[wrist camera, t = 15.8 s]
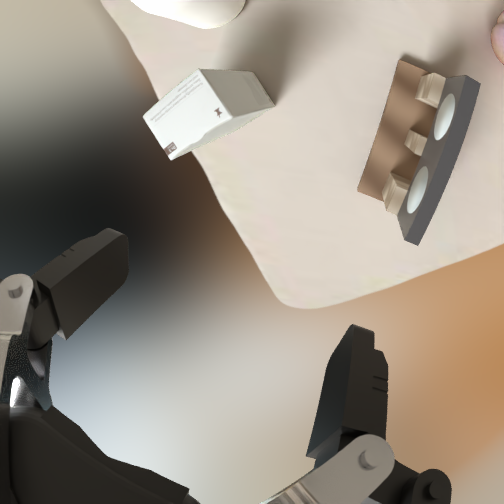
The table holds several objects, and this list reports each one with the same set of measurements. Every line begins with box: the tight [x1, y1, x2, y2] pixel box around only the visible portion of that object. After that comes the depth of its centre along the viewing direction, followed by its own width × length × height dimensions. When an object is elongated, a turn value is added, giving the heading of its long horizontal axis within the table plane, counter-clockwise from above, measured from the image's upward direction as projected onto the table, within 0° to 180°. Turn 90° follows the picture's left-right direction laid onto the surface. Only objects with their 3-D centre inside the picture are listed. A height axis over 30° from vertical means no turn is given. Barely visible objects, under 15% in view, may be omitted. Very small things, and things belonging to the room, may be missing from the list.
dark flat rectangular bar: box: [397, 75, 480, 246], centre depth 23 cm, size 16×2×6 cm, turn 167°
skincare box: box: [143, 69, 275, 160], centre depth 31 cm, size 8×6×15 cm
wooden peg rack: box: [358, 60, 446, 215], centre depth 29 cm, size 18×10×8 cm, turn 167°
